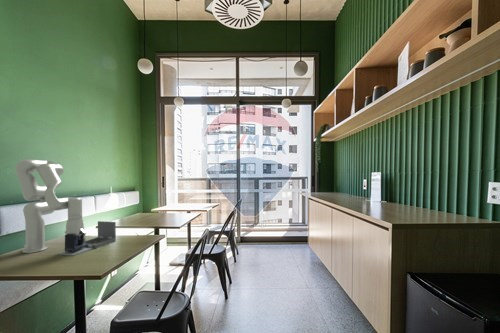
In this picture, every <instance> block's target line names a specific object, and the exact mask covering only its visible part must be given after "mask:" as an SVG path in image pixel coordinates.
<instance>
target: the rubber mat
mask: <svg viewBox="0 0 500 333" xmlns="http://www.w3.org/2000/svg"><path fill="white" fill-rule="evenodd" d="M93 249H94V248H85V247H83V248H81V249H79V250H76V251H74V252H65V250H64V251H60V252H58V253H57V255H63V256H73V257H74V256H77V255H79V254H83V253H86V252H88V251H91V250H93Z"/></svg>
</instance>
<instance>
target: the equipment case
mask: <svg viewBox="0 0 500 333" xmlns="http://www.w3.org/2000/svg"><path fill="white" fill-rule="evenodd" d="M116 226H117V225H116V221H100V220H99V221H97V237H95V238H94V237H93V238H92V239H91V238H90V239H88V240H85V248H93V249H98V248H101V247H104V246H106V245H110V244H112V243H114V242H117V238H116V236H117V234H116V232H117V231H116V228H117V227H116ZM96 242H98V243H96Z"/></svg>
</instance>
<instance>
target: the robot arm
mask: <svg viewBox="0 0 500 333" xmlns="http://www.w3.org/2000/svg"><path fill="white" fill-rule="evenodd" d="M33 173H38V174H39V176H40V178H41V180H42V182H43V183H44V185H39V183H38V180H37V178H36V176H35V175H34V174H33ZM63 174H64V167H63V166H62V165H61V163H60V164H59V163H57V162H53V161H51V160H46V159H34V158H32V159H22V160H21V159H20V160H19V161H18V162H17V163H16V165H15V175H16V177H17V178H18V181H19V185H20V189H21V194H22V196H23V199H24V200H25V201H27V202H29V201H30V202H29V203H27V204H25V205H24V206H23V209H22V212H23V216H24V222H25V244H23V246H22V247H25V248H24V249H23V250H22V253H23V254H31V253H32V254H33V253H38V252H42V251H45V250H47V249H48V248H49V246H48V245H45V244H46V242H45V240H46V239H45V237H46V235H45V232H46V231H45V229H46V227H45V220H44V219H43V217H42V216H46V215H50V214H52V213H54V212H55V211H62V210H67V220H66V224H65V231H64V233H65V234H64V235H66V234H76V236H77V235H78V246H80V245H83V238H84V236H85V237H86V234H87V232H86V230H85V227H84V226H85V225H84V220H83V199H82V197H71V196H70V197H69V196H66V197H57V196H56V193H55V189H57V188H58V187H60V186H61V185H62V183H63V182H62V180H61V178H60V176H61V175H63ZM31 201H32V202H31ZM79 233H80V234H79ZM79 235H81V236H79Z"/></svg>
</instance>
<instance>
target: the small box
mask: <svg viewBox="0 0 500 333" xmlns="http://www.w3.org/2000/svg"><path fill="white" fill-rule="evenodd" d="M79 234H80V233H79ZM79 236H81V235H79ZM85 241H86V235H85V236H84V238H83V245H80V246H78V235H77V236H76V234H64V251H65V252H74V251H76V250H79V249H81V248H83V247H85Z"/></svg>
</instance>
